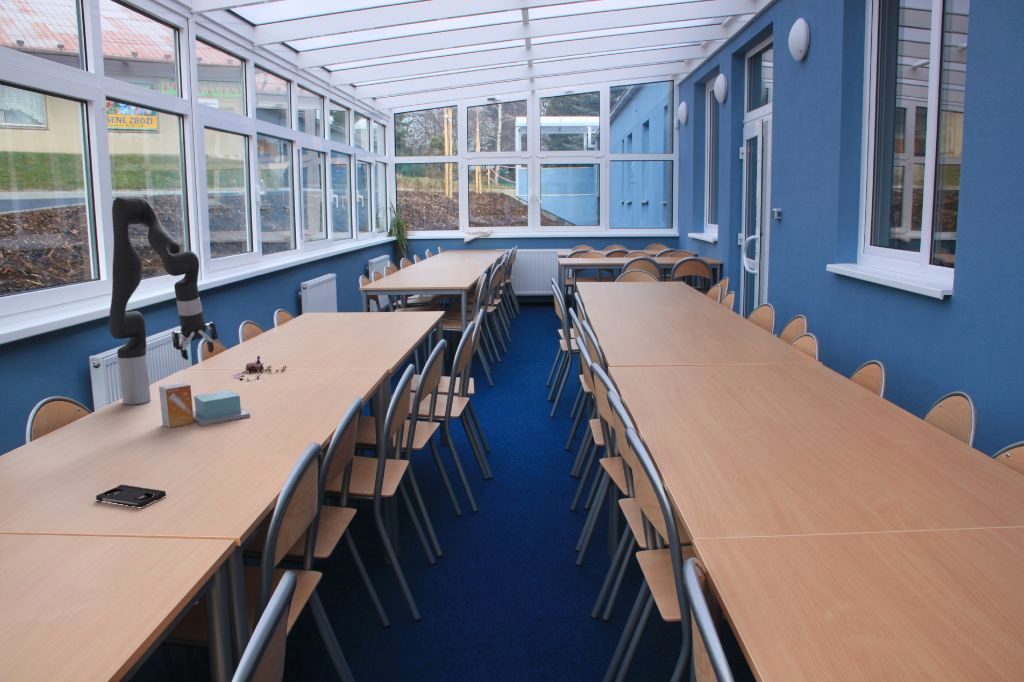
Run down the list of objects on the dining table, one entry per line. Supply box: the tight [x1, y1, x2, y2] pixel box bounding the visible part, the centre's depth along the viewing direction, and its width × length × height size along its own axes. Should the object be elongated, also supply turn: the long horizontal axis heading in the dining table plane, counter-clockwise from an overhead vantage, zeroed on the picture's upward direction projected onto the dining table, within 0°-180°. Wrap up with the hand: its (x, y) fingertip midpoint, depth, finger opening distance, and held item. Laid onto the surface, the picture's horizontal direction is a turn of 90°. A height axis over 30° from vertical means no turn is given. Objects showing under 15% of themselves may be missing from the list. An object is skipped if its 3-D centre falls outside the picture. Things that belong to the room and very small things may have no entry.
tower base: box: [193, 389, 251, 427], centre depth 258 cm, size 16×16×7 cm
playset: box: [233, 355, 287, 381], centre depth 320 cm, size 25×19×7 cm
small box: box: [158, 381, 195, 428], centre depth 250 cm, size 8×6×13 cm
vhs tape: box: [95, 484, 167, 507], centre depth 188 cm, size 14×8×2 cm, turn 70°
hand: (198, 355), depth 261 cm, fingers open, 8 cm apart
